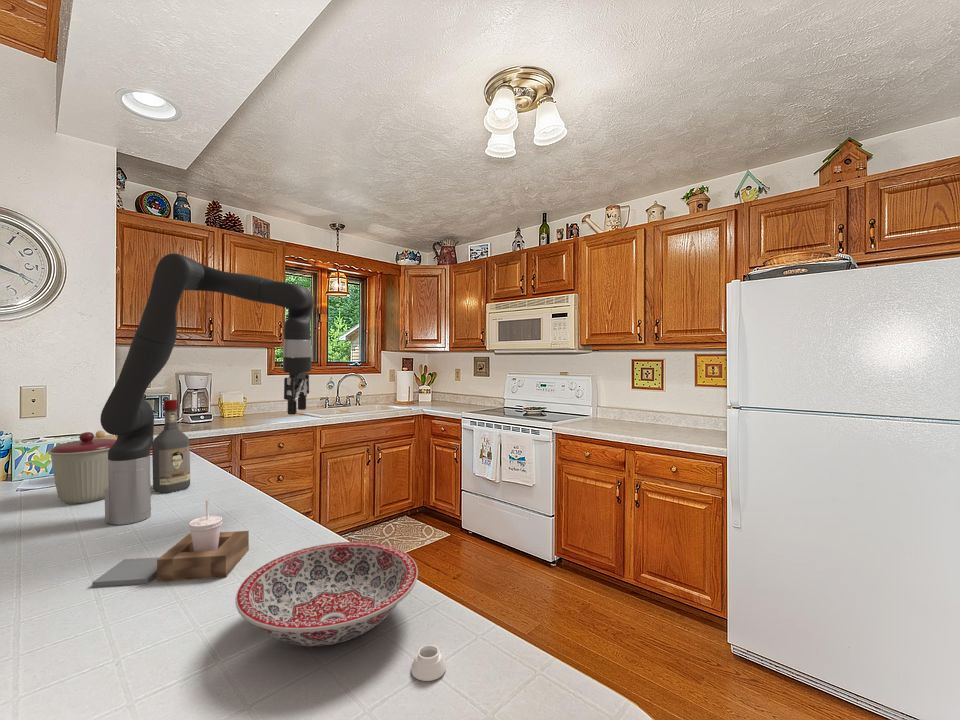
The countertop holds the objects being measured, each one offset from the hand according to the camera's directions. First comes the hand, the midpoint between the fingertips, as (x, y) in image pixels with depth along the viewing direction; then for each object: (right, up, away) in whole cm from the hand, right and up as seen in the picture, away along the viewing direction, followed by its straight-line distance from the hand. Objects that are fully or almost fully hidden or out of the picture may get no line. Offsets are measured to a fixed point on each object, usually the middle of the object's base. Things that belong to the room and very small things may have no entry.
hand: (297, 411), depth 131 cm
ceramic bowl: (+27, -30, -53) cm, 67 cm away
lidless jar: (+45, -31, -65) cm, 85 cm away
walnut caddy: (-7, -30, -32) cm, 44 cm away
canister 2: (-85, -29, +35) cm, 96 cm away
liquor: (-51, -29, +23) cm, 63 cm away
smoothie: (-7, -30, -32) cm, 44 cm away
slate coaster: (-20, -30, -36) cm, 50 cm away
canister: (-71, -29, +13) cm, 78 cm away
